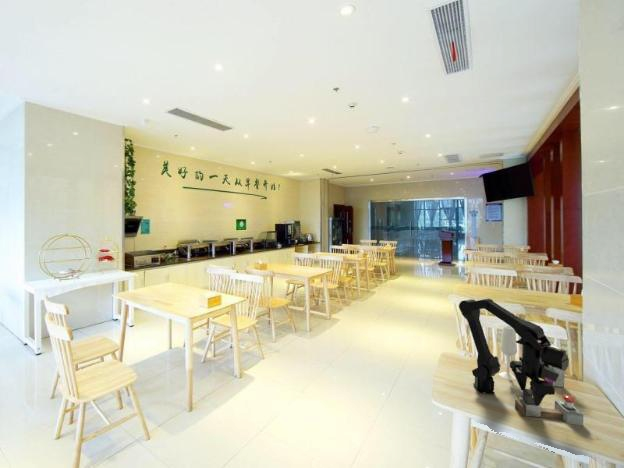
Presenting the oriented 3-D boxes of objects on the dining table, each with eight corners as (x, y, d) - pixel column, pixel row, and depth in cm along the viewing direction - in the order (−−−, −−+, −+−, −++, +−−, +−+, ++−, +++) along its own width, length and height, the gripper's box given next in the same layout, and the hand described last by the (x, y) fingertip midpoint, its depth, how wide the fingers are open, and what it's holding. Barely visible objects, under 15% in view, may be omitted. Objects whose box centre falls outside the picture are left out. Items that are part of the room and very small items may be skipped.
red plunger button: (566, 413, 103) (567, 399, 103) (559, 407, 107) (560, 393, 106) (577, 414, 102) (578, 400, 102) (570, 408, 106) (571, 394, 106)
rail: (521, 415, 106) (521, 406, 105) (514, 408, 110) (515, 399, 110) (564, 420, 103) (565, 411, 103) (556, 412, 107) (557, 404, 107)
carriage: (525, 415, 105) (526, 394, 105) (519, 407, 110) (519, 387, 109) (540, 417, 104) (541, 396, 104) (533, 409, 109) (534, 389, 108)
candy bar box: (537, 373, 136) (538, 340, 135) (548, 374, 135) (550, 341, 134) (551, 386, 125) (553, 350, 124) (564, 388, 124) (566, 351, 123)
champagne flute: (517, 381, 129) (519, 330, 128) (500, 378, 132) (502, 328, 131) (514, 374, 135) (516, 325, 134) (498, 371, 138) (499, 323, 137)
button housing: (567, 423, 102) (567, 412, 102) (554, 410, 109) (554, 400, 108) (583, 425, 101) (583, 414, 101) (569, 412, 108) (569, 402, 107)
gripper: (573, 373, 96) (571, 417, 96) (539, 349, 114) (538, 386, 115) (537, 369, 98) (535, 413, 98) (509, 346, 116) (508, 383, 117)
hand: (529, 397), depth 107 cm, fingers open, 9 cm apart
